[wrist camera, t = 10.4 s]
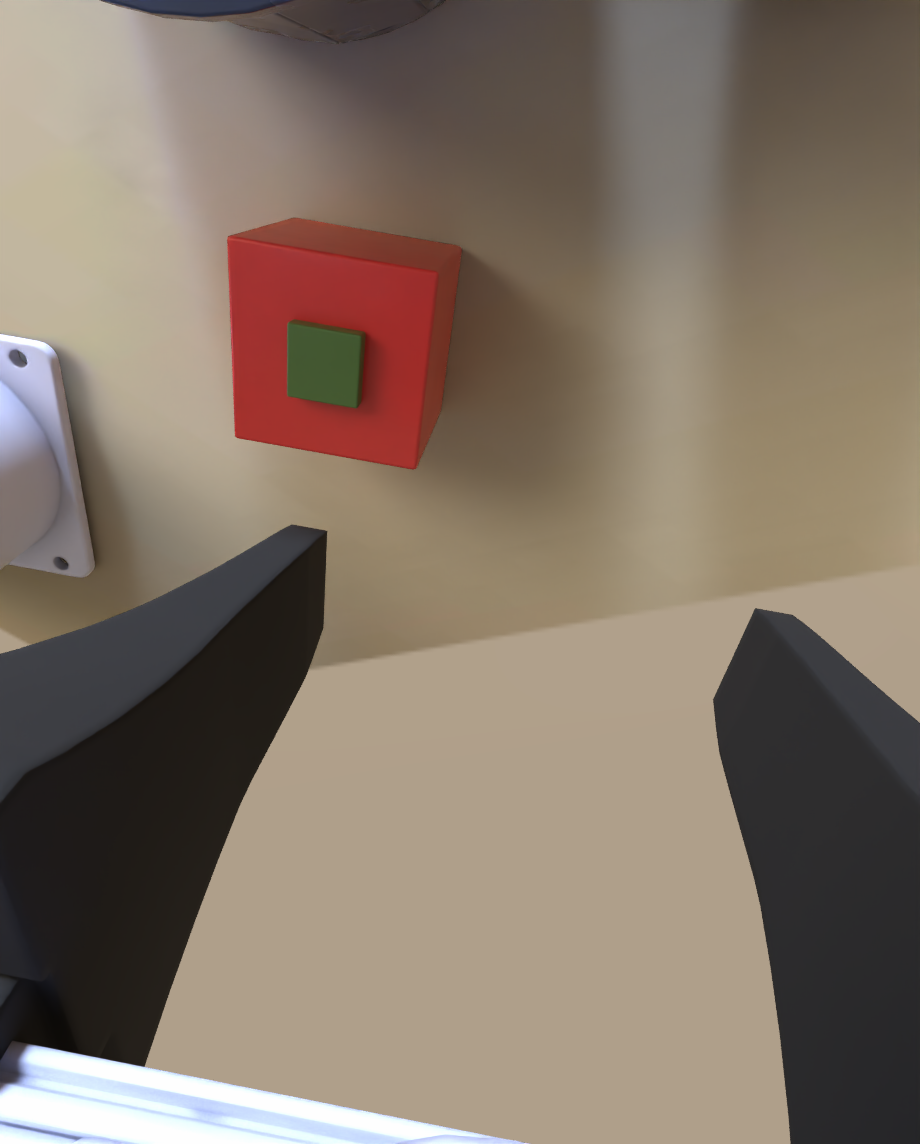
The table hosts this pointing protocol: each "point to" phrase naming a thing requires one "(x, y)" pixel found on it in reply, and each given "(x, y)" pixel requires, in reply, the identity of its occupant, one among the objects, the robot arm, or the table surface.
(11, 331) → the table surface
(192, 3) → the pot lid
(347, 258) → the block
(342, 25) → the pot
